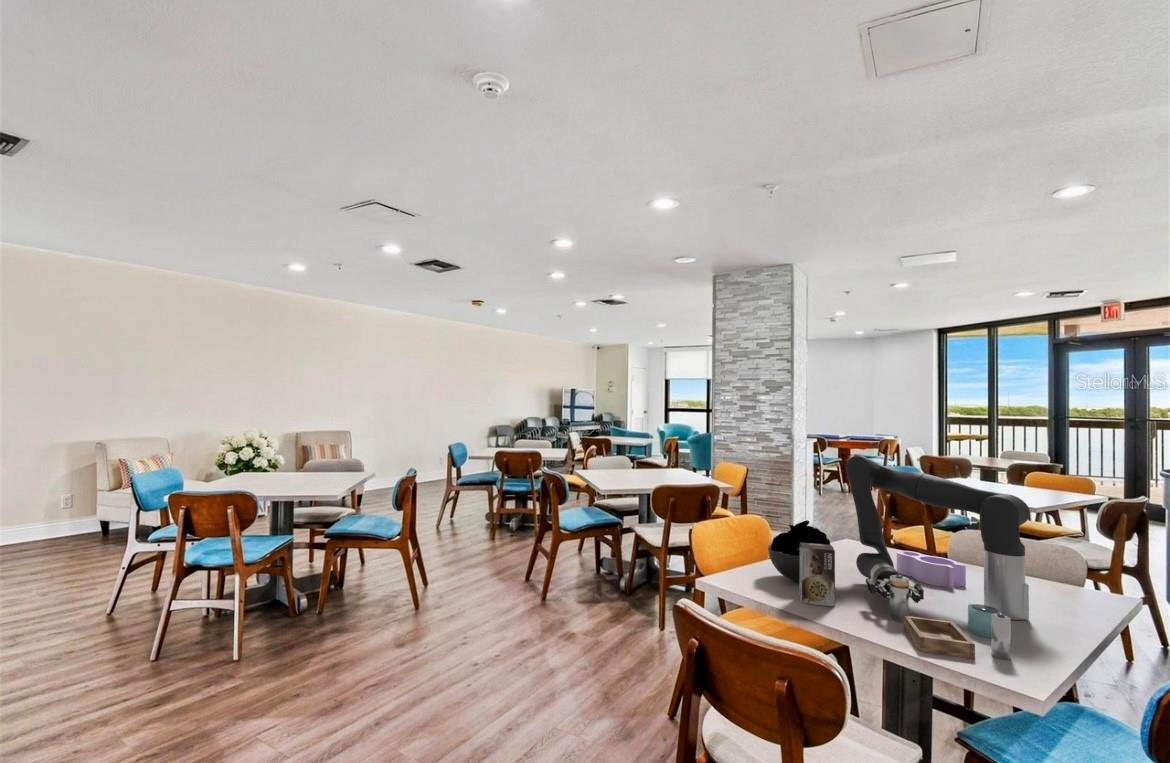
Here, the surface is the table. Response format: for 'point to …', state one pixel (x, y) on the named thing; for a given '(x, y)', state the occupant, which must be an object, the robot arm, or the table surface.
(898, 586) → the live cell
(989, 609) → the cup
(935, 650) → the brown wooden tray
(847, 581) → the table surface
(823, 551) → the coffee box
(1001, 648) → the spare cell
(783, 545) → the coal bowl
